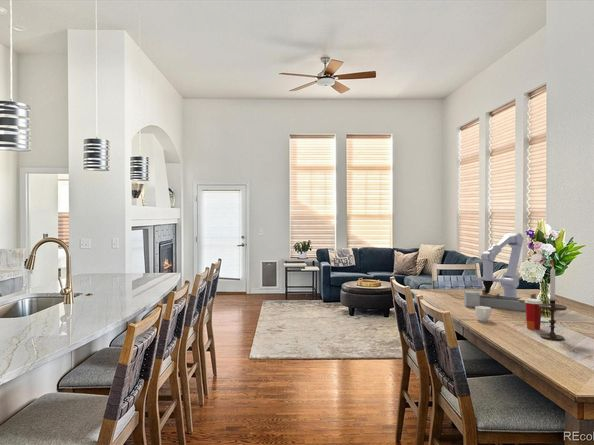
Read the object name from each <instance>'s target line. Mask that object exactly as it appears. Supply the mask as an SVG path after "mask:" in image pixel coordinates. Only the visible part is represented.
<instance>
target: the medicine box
mask: <svg viewBox="0 0 594 445" xmlns="http://www.w3.org/2000/svg"><path fill="white" fill-rule="evenodd" d="M480 294H481V293H480V292H478V291H464V294H463V295H464V301H463V302H464V306H465V307H466V308H475V307H476V306H480Z"/></svg>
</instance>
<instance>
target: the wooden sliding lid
mask: <svg viewBox="0 0 594 445" xmlns="http://www.w3.org/2000/svg"><path fill="white" fill-rule="evenodd" d="M481 290H482V292H481V293H480V297H486V298H493V297H495V296H498V295H500V293H497V292H490V293H486V289H485V288H484V289H481Z"/></svg>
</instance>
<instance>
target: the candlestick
mask: <svg viewBox="0 0 594 445" xmlns="http://www.w3.org/2000/svg"><path fill="white" fill-rule="evenodd" d="M550 262H551V269H550V284H549V286H550V288H549V290H550V292H549V298H548V299H547V300H548V301H549V303H543V304H539V308H542V310H548V312H550V319H548V323H550V325H549V326H548V327H549V328H550V331H549V333H541V334H540V338H541V339H544V340H549V341H555V342H557V341H559V342H563V341H564V340H565V337H564V336H563V335H560V334H556V332H555V329H556V326H555V324H556V323H557V321H556V320H555V313H556V312H558V311H562V312H563V311H566V310H567V305H566V306H565V305H564V304H557V303H556V301H558V299H556V269H555V268H554V265H555V263H554V261H553V260H551V261H550Z"/></svg>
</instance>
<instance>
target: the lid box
mask: <svg viewBox="0 0 594 445" xmlns="http://www.w3.org/2000/svg"><path fill="white" fill-rule="evenodd" d="M521 298H522V297H518V296H517V297H510V296H503V295H498V296H495V297H493V298H486V297H480V306H486V307H490V308H494V309H495V308H497V309H505V310H512V311H519V312H526V303H525V302H521V301H518V299H521Z"/></svg>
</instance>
